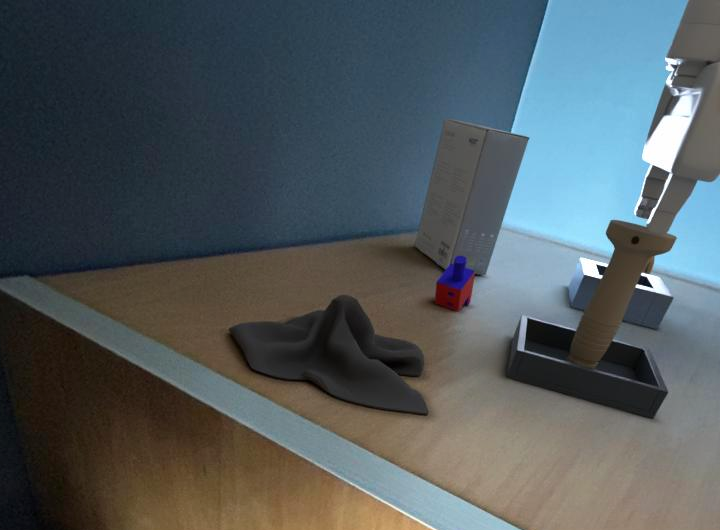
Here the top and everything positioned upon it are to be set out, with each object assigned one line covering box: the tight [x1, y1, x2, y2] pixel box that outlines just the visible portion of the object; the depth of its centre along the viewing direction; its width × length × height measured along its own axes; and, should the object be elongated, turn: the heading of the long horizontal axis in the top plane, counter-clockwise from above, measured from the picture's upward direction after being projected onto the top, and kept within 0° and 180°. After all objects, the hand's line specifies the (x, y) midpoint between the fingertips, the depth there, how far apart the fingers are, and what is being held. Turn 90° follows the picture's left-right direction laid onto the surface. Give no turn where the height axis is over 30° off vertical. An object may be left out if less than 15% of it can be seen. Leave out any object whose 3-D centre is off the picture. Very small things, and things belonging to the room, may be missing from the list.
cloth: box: [228, 294, 430, 416], centre depth 55 cm, size 22×19×6 cm
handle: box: [566, 219, 678, 369], centre depth 61 cm, size 5×6×15 cm
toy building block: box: [434, 256, 476, 312], centre depth 77 cm, size 4×4×8 cm
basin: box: [506, 314, 669, 419], centre depth 65 cm, size 16×14×3 cm
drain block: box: [567, 257, 675, 330], centre depth 92 cm, size 13×13×5 cm
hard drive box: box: [414, 118, 531, 276], centre depth 94 cm, size 16×8×20 cm, turn 15°
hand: (647, 224), depth 56 cm, fingers open, 8 cm apart
